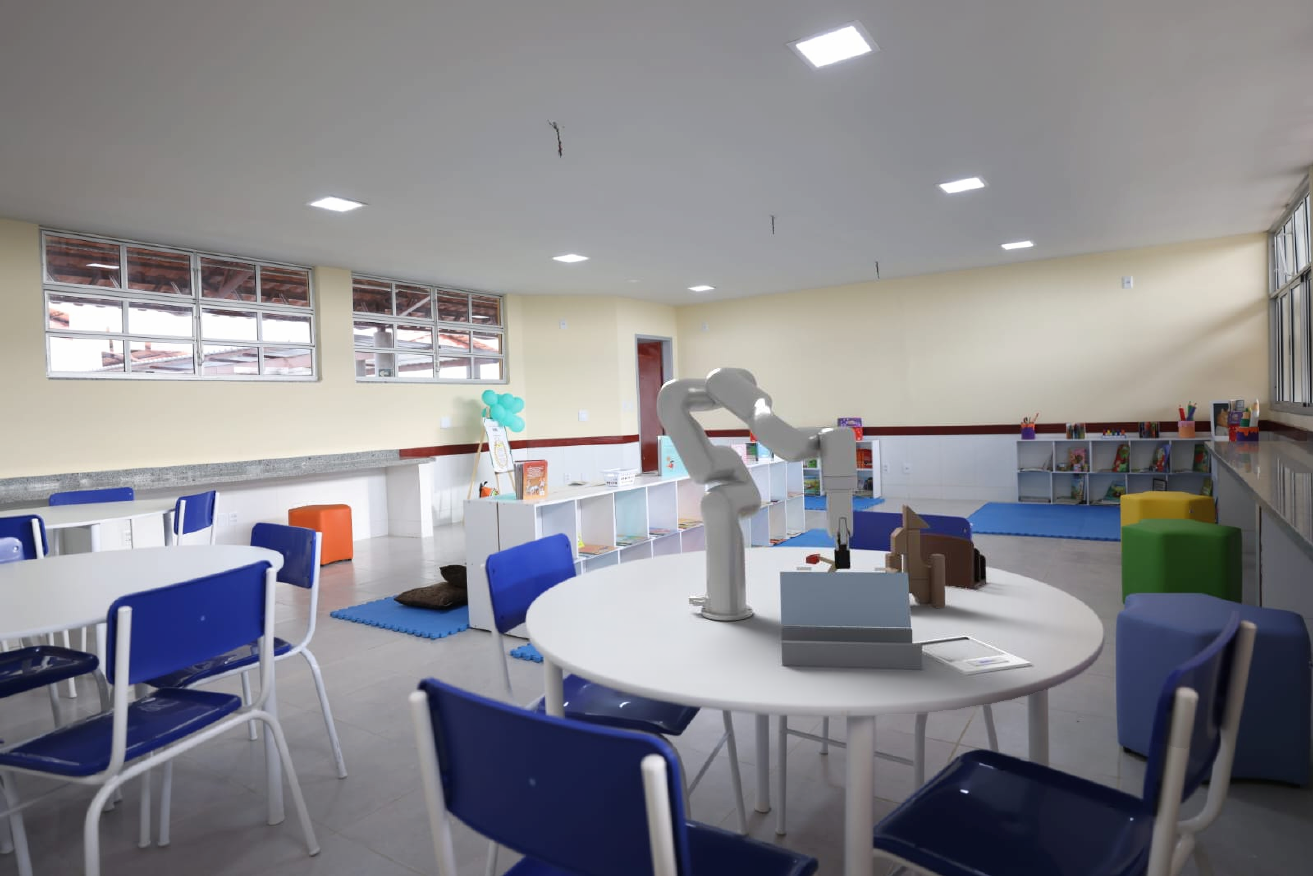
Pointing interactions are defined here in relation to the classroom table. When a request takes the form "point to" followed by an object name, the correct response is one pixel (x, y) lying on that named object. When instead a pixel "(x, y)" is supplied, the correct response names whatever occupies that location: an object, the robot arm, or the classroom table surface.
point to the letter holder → (955, 559)
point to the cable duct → (850, 647)
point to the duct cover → (845, 598)
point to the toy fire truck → (816, 558)
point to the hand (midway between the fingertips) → (842, 568)
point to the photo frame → (979, 659)
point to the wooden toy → (917, 562)
